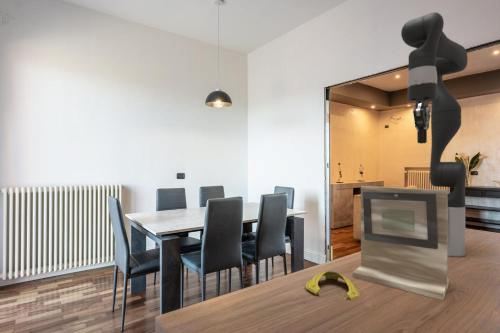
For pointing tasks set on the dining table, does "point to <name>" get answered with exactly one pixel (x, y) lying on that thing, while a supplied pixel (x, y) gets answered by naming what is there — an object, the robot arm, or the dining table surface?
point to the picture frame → (401, 218)
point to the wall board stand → (408, 255)
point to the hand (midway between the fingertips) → (422, 143)
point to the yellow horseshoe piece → (313, 283)
